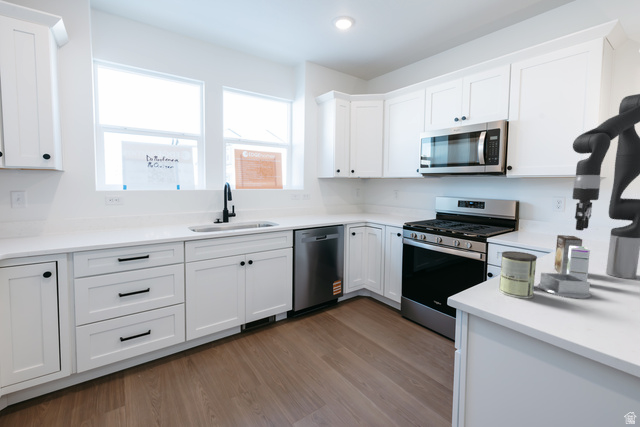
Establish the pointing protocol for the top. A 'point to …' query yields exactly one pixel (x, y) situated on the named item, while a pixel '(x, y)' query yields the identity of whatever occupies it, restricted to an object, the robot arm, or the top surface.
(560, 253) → the coffee box
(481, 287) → the top surface
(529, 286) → the coffee can
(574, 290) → the collar
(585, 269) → the syrup box
